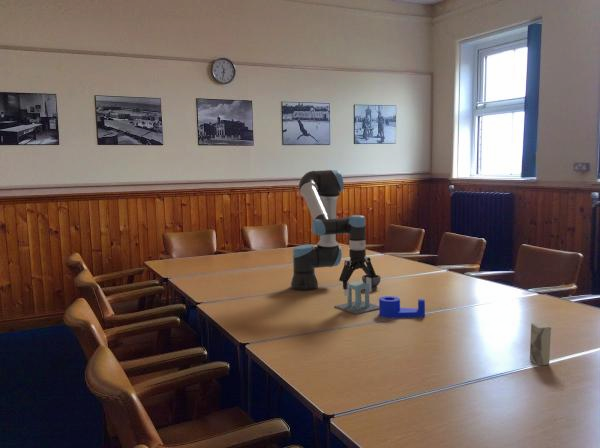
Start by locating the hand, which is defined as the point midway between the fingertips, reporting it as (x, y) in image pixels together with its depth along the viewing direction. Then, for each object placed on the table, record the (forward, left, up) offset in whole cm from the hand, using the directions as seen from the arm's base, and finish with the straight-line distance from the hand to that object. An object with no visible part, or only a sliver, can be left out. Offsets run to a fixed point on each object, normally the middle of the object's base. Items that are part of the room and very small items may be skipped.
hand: (357, 293), depth 244 cm
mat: (0, 0, -7) cm, 7 cm away
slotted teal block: (0, 0, -6) cm, 6 cm away
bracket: (+22, +7, -7) cm, 24 cm away
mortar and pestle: (-25, +30, -7) cm, 39 cm away
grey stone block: (+89, +3, -7) cm, 90 cm away
